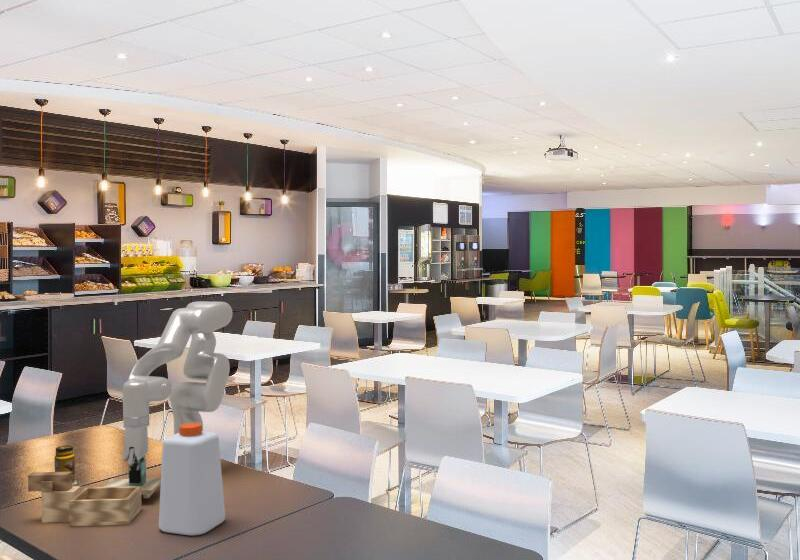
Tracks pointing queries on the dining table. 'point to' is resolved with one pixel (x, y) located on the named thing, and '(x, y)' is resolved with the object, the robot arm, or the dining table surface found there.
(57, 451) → the condiment
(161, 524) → the plastic bottle
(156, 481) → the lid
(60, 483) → the brown wooden bar
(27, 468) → the dining table surface
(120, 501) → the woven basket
